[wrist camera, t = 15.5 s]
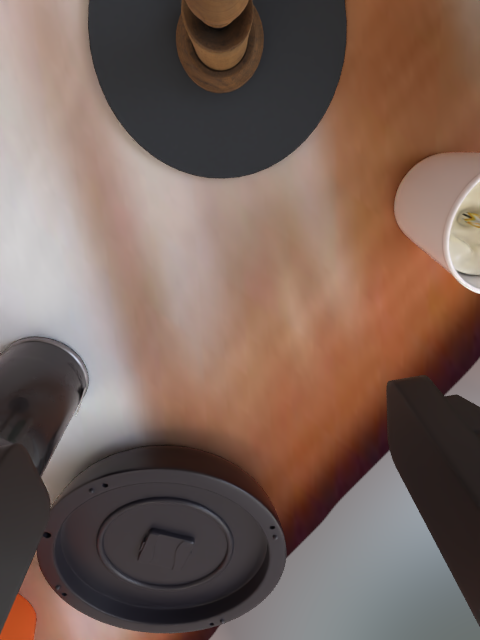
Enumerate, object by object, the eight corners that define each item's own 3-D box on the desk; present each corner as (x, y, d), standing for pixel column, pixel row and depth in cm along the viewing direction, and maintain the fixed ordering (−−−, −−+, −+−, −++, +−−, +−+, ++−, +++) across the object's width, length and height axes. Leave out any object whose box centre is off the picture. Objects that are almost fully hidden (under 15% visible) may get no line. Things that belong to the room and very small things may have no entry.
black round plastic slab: (317, 468, 53) (78, 405, 48) (328, 508, 48) (59, 442, 42) (235, 607, 65) (36, 569, 59) (237, 652, 59) (17, 614, 54)
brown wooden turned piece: (185, -18, 31) (142, -171, 15) (270, 4, 32) (319, -118, 16) (173, 83, 34) (125, 47, 18) (251, 101, 35) (276, 83, 18)
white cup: (366, 232, 40) (419, 273, 29) (417, 126, 36) (498, 128, 26) (454, 263, 42) (534, 313, 31) (512, 165, 38) (626, 182, 27)
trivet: (129, 194, 38) (127, 195, 37) (54, -96, 30) (49, -101, 29) (349, 157, 37) (352, 158, 37) (337, -150, 29) (340, -158, 28)
